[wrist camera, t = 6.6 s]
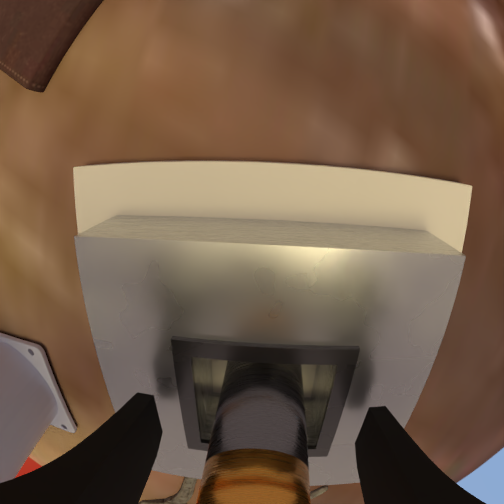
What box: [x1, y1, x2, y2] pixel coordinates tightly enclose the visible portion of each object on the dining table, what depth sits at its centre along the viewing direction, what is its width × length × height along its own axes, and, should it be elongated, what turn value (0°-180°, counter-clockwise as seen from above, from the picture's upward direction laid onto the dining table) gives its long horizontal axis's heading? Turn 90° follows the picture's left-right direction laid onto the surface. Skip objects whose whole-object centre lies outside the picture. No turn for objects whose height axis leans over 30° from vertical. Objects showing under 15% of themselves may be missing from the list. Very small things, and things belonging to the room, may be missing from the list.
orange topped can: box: [196, 360, 311, 504], centre depth 9 cm, size 3×3×8 cm
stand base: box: [73, 160, 472, 397], centre depth 14 cm, size 16×16×1 cm
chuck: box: [74, 215, 466, 486], centre depth 12 cm, size 12×12×3 cm
